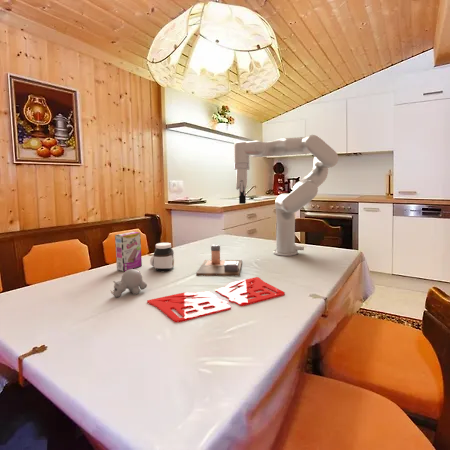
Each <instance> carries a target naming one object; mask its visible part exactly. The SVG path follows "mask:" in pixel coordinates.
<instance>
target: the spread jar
mask: <svg viewBox="0 0 450 450" xmlns="http://www.w3.org/2000/svg"><path fill="white" fill-rule="evenodd" d="M174 253H175V252H174V250H173V248H172V243H171V242H158V243H156V244H155V250H154V252H153V254H152V255H151V258H150V260H149V264H150V265H151V266H152V267H153V268H154V269H155V270H156V271H157V272H161V271H164V272H169V270H170V271H172V270H173V269H174V267H175V254H174Z"/></svg>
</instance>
